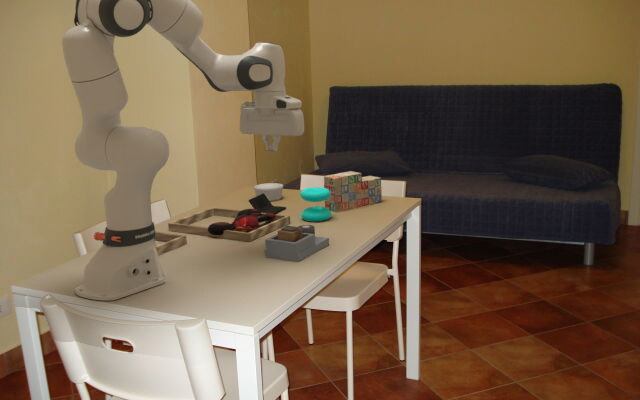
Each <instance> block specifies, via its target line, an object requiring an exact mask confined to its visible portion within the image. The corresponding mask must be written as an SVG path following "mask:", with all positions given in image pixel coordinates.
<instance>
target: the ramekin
mask: <svg viewBox="0 0 640 400" xmlns="http://www.w3.org/2000/svg"><path fill="white" fill-rule="evenodd" d="M283 190H284V185H283V183H282V184H281V183H278V182H277V183H275V182H269V183H267V182H266V183H261V184H256V185H254V186H253V191H254V194H255V197H256V196H258V195H261V194H263V193H264V194H265V195H266V197H267V198H268V200H269V201H270V202H276V201H279V200H281V199H282V198H283Z"/></svg>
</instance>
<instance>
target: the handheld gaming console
mask: <svg viewBox="0 0 640 400" xmlns="http://www.w3.org/2000/svg"><path fill="white" fill-rule="evenodd" d="M248 202H249V204H250V205H251V206H252V209H256V210H259V211H260V212H261V213H273V214H279V213H281V212H283V211H285V210H286V209H287V207H286V206H280V205H278V206H277V205H273V204H272V202H271V201H269V200H268V198H267V197H266V195H265V194H264V193H263V194H261V195H258V196H256V195H255V197H254V196H253V197H252V198H250V199H248Z"/></svg>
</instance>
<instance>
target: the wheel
mask: <svg viewBox="0 0 640 400" xmlns="http://www.w3.org/2000/svg"><path fill="white" fill-rule="evenodd" d="M297 227H299V228H303V233H310V234H315V235H316V230H315V228H316V227H315V226H314V225H313V224H301V225H299V226H297Z"/></svg>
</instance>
